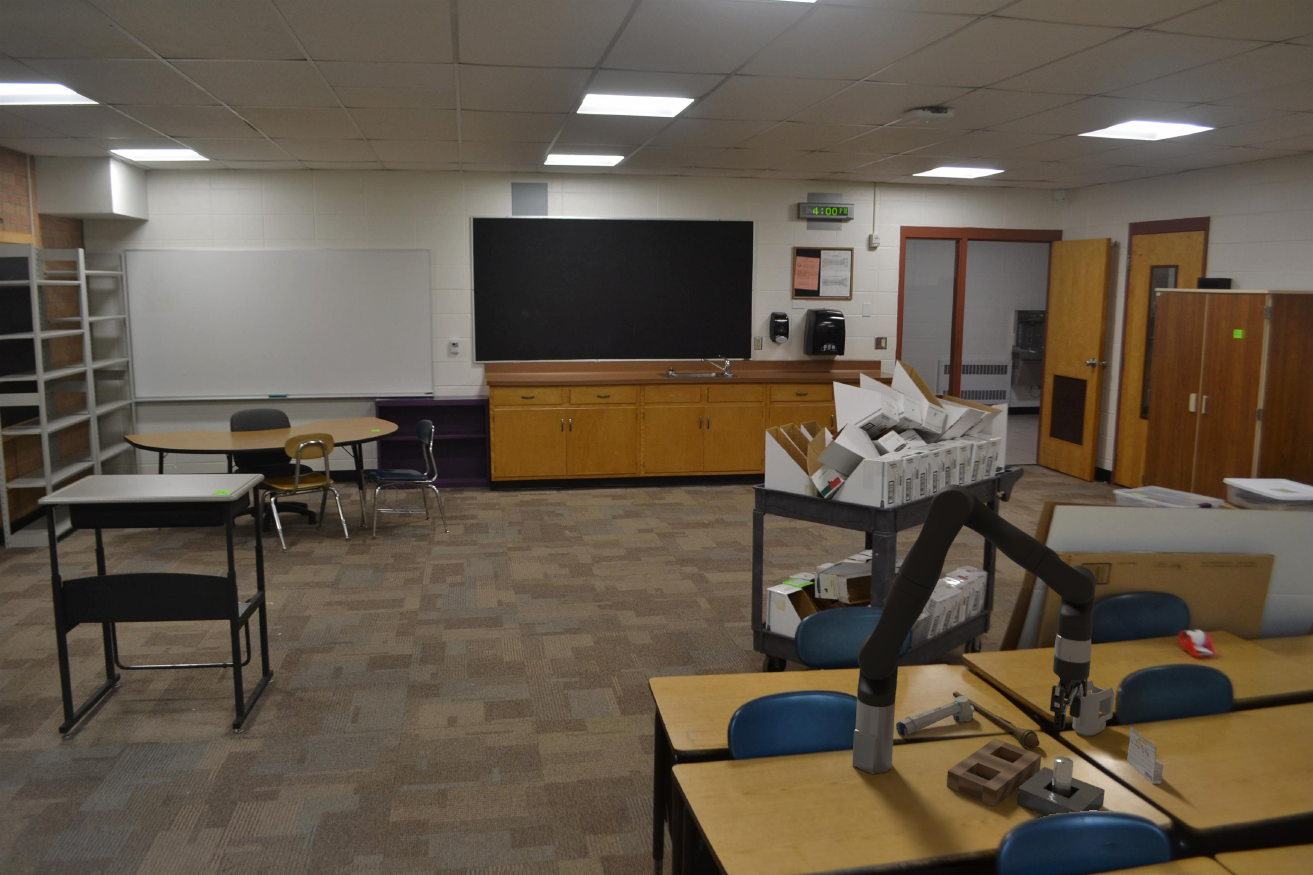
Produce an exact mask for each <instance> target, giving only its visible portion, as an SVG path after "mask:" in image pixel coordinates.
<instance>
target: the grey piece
mask: <svg viewBox="0 0 1313 875" xmlns="http://www.w3.org/2000/svg"><path fill="white" fill-rule="evenodd" d="M969 699H970V698H969V696H966V695H963V696H959V697H955V699H954V701H952V702H949V703H946V704H943V705H941V706H937V707H936V708H932V709H929V710H927V711H926V710H925V711H924V712H921V713H918V714H915V715H913V716H909V715H908V716H906V717H905V718H904V719H903V720H900V721H898V722H896V723H895V730H896V731H897V733H898V734H899V735H901V736H902V737H907V736H909V735H911V734H912V735H914V734H916V733H917V732H918V731H920V730H922V729H925V728H927V727H929V726H931V725H934V724H936V723H937V722H940V721H942V720H944V719H947V718H949V717H951V716H952V718H953V720H955V721H957V722H961V723H963V722H967V723H968V722H970V721H972V718H974V715H973V714H974V713H975V709H974V708H973V706H972V705H970V700H971V699H970V700H969Z"/></svg>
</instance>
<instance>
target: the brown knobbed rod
mask: <svg viewBox="0 0 1313 875" xmlns="http://www.w3.org/2000/svg"><path fill="white" fill-rule="evenodd" d="M952 696H954V697H955V698H957V697H959V696H964V695H963V694H962V693H960V692H958V690H957V691H956V690H954V691H952ZM969 700H970V705H972V706H973V708H974V710H976V711H977V712H979V713H981V714H982V715H983V716H986V717H988V718H989V719H991V720H992V721H993V722H996V723H998V724H999V725H1001V726H1002V727H1004V728H1005V729H1007V730H1009V731H1010V732H1012V733H1013V734H1014V736H1015V737H1016V738H1017V739H1018V740H1019V742H1020V743H1021V745H1022V746H1023V747H1024V746H1025V747H1026V748H1027V747H1030V748H1035V747H1039V746H1040V740H1039V737H1038V734H1037V733H1036V732H1035V731H1034V730H1033V729H1028V728H1027V729H1026V728H1021V727H1016V725H1014V724H1013V723H1012V722H1011V721H1009V720H1007V719H1005V718H1004V717H1001V716H998V715H996V714H994V713H993V712H991V711H989V710H988V709H986V708H985V707H983V706H981V705H979V704H978V703H976V702H975V701H974V700H972V699H970V698H969Z"/></svg>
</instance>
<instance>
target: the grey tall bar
mask: <svg viewBox="0 0 1313 875" xmlns="http://www.w3.org/2000/svg"><path fill="white" fill-rule="evenodd" d="M1073 768H1074V761H1073V759H1071V758H1069V757H1068V756H1060V755H1059V756H1055V757H1054V759H1053V769H1052V770H1053V780H1052V792H1053V793H1056V794H1058V795H1061V796H1063V797H1066V798H1070V795H1071V783H1072V777H1073V770H1074V769H1073Z"/></svg>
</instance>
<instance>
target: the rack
mask: <svg viewBox="0 0 1313 875" xmlns="http://www.w3.org/2000/svg"><path fill="white" fill-rule="evenodd" d="M1041 762H1042V755H1041V754H1039V753H1036V752H1033V751H1031V750H1029V749H1028V750H1027V749H1025V748H1023V747H1019V746H1017V745H1015V744H1012V743H1009V742H1007V741H1004V740H1001V739H998V738H996V737H994V738H993V739H992V740H990V741H988V742H987V743H985V745H983V746H982V747H980V748H979V749H977V750H976V751H974V752H973V753H971V754H970V755H968V756H966V758H964V759H963V760H961V761H959V762H958V763H957V764H955V765H954V766H952V767H951V768H949V769H948V770H947V778H946V779H947V780H946V787H948V788H949V789H952V790H954V791H957V792H959V793H962V794H964V795H966V796H969V797H971V798H973V799H975V800H978V801H981V802H983V803H985V804H987V805H990V806H991V807H996V806H997V805H998V804H999V803H1001V802H1002V801H1003V800H1005V799H1006V798H1008V797H1009V796H1010V795H1011V794H1013V793H1014V792H1015V791H1016V790H1018V788H1019V787H1020V786H1021V785H1022V784H1024V783H1025V782H1026V781H1027V780H1029V779H1030V778H1031V777H1032V776H1034V775H1035V774H1036V773H1037V772H1039V771H1040V770H1041Z"/></svg>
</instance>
